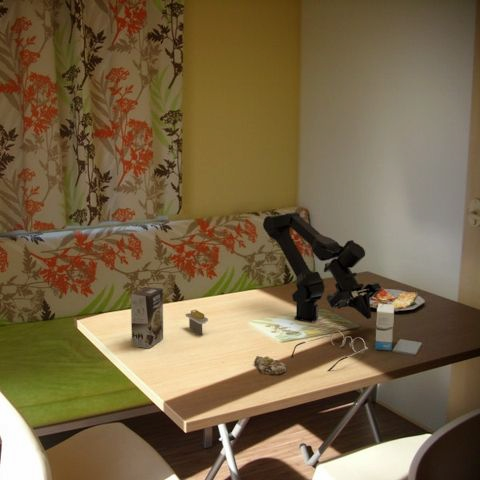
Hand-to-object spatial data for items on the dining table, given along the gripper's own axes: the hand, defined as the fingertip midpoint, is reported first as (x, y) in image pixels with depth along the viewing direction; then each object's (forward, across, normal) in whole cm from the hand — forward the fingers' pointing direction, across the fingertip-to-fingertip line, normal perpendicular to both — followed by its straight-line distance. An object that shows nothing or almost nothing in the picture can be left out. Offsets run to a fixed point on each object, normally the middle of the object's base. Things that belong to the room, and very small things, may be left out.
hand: (369, 318), depth 212 cm
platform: (-22, +36, -33) cm, 53 cm away
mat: (+13, -3, +4) cm, 14 cm away
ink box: (+9, 0, -1) cm, 9 cm away
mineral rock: (+3, +39, -7) cm, 39 cm away
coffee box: (-24, +54, -33) cm, 67 cm away
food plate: (-9, -35, -19) cm, 41 cm away
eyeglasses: (+7, +19, -4) cm, 21 cm away
